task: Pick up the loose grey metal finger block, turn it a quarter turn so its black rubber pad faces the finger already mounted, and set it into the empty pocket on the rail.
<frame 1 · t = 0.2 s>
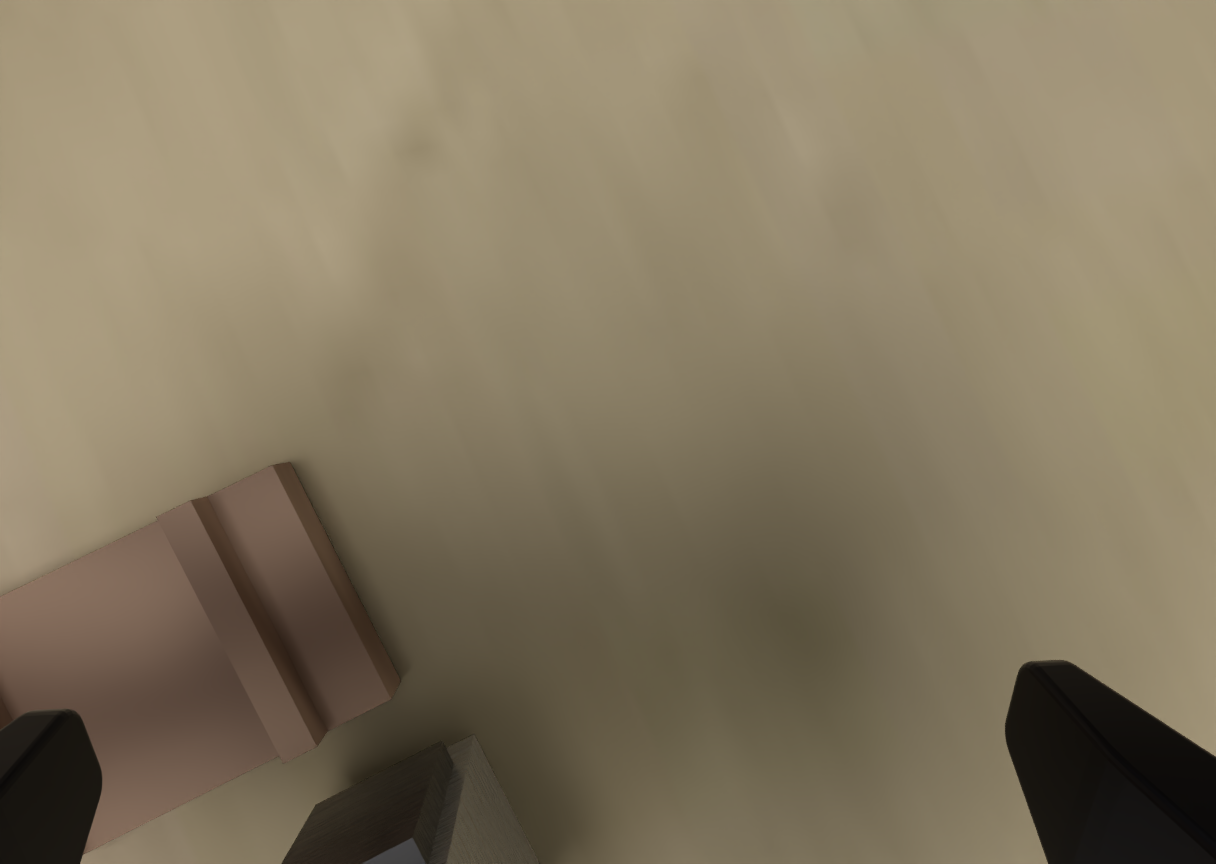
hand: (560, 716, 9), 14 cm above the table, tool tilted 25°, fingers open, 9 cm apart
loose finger: (437, 842, 23), on the table
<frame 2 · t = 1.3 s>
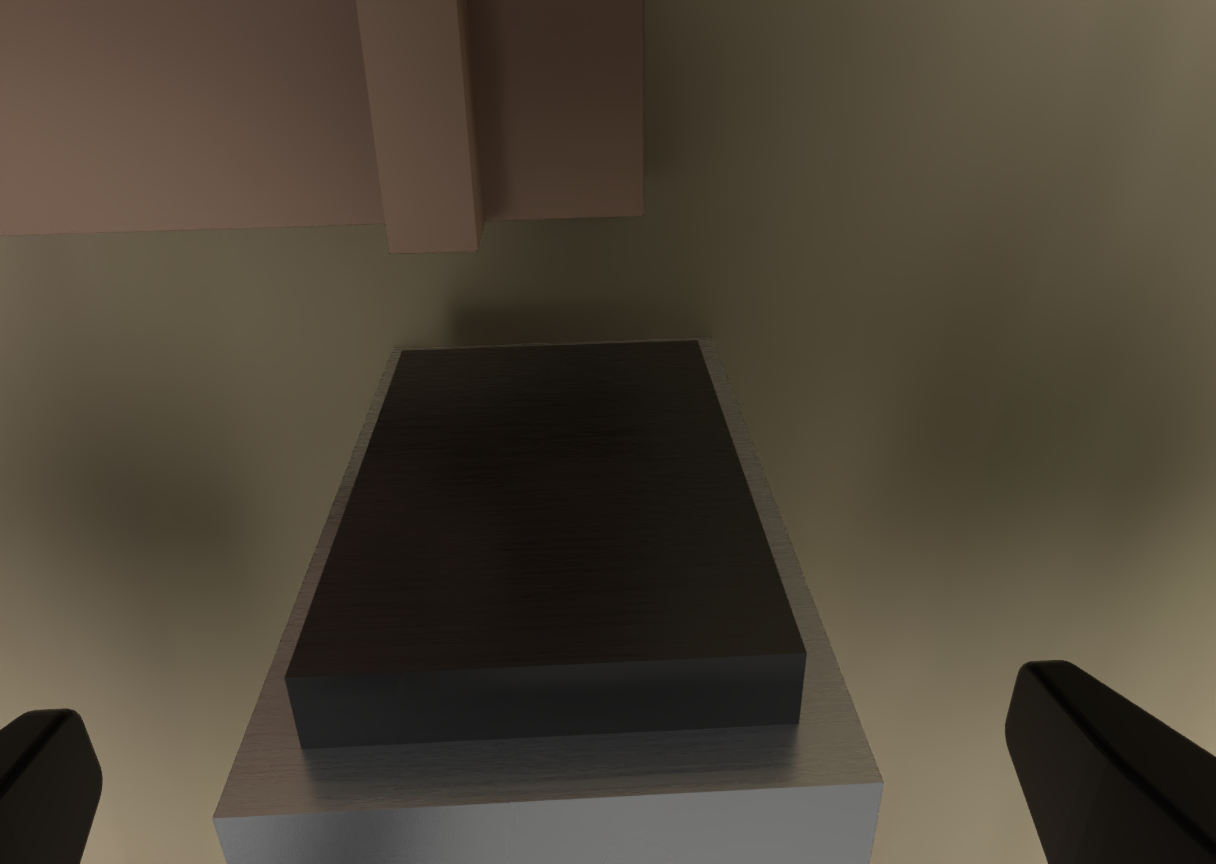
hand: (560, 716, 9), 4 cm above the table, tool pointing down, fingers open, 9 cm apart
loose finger: (559, 478, 13), on the table
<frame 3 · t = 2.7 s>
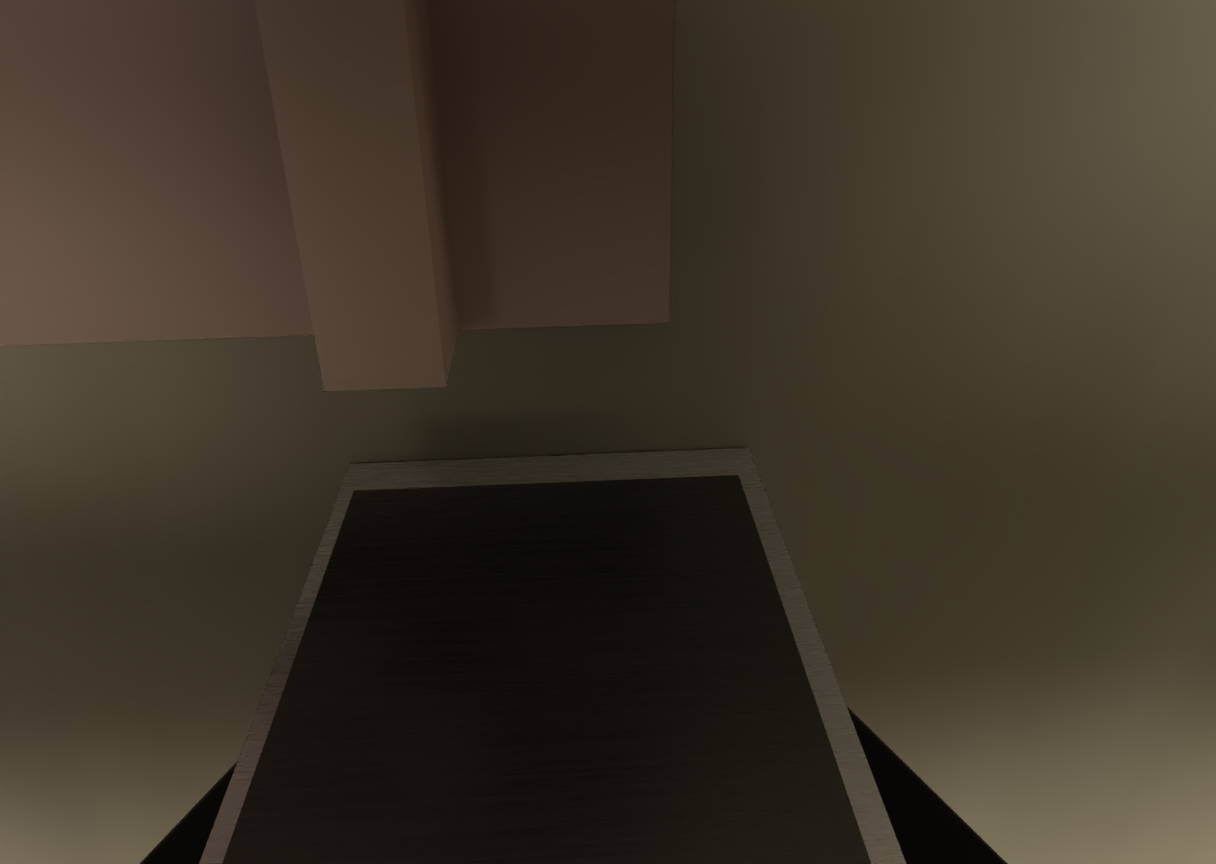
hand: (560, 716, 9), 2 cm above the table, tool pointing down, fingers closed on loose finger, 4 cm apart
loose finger: (559, 612, 10), on the table, touching gripper
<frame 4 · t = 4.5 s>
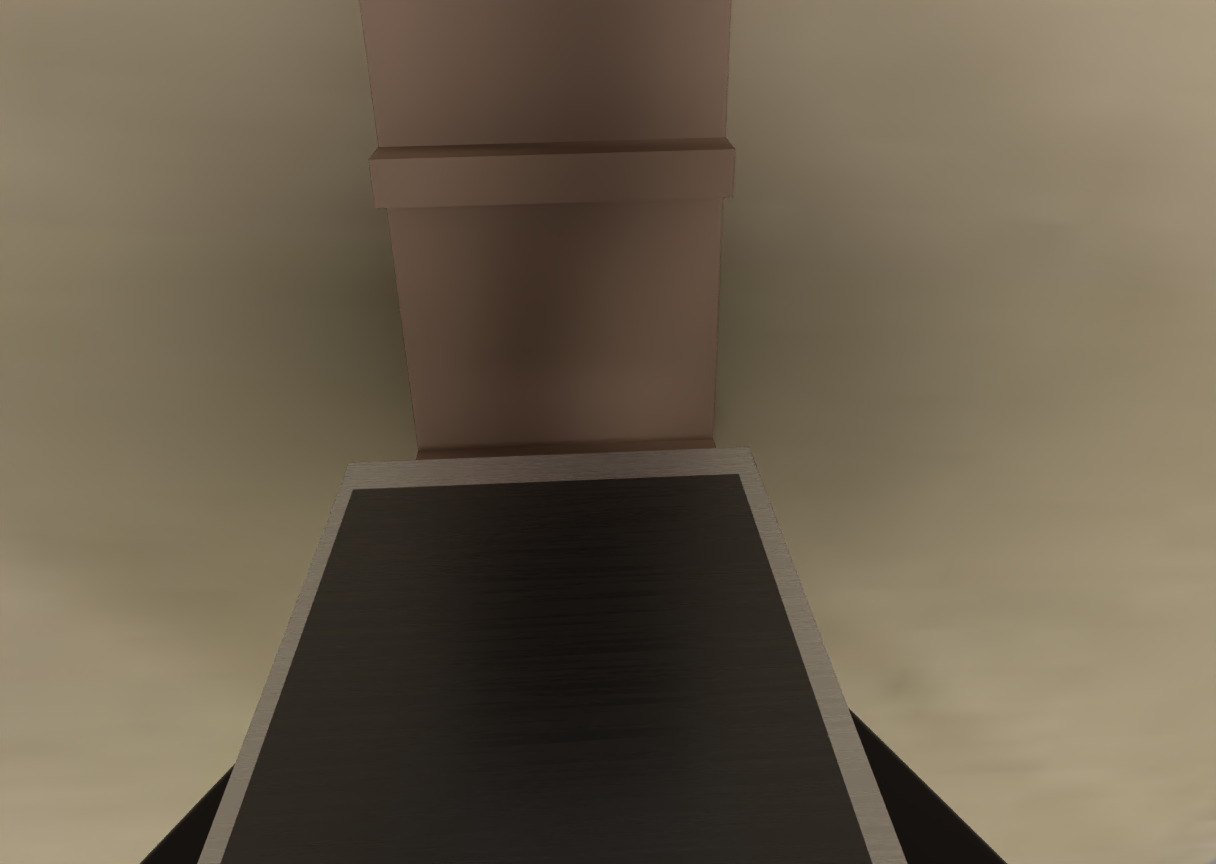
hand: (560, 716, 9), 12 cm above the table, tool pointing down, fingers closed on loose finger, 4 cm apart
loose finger: (558, 612, 10), point 10 cm above the table, touching gripper
rail: (547, 2, 16), on the table
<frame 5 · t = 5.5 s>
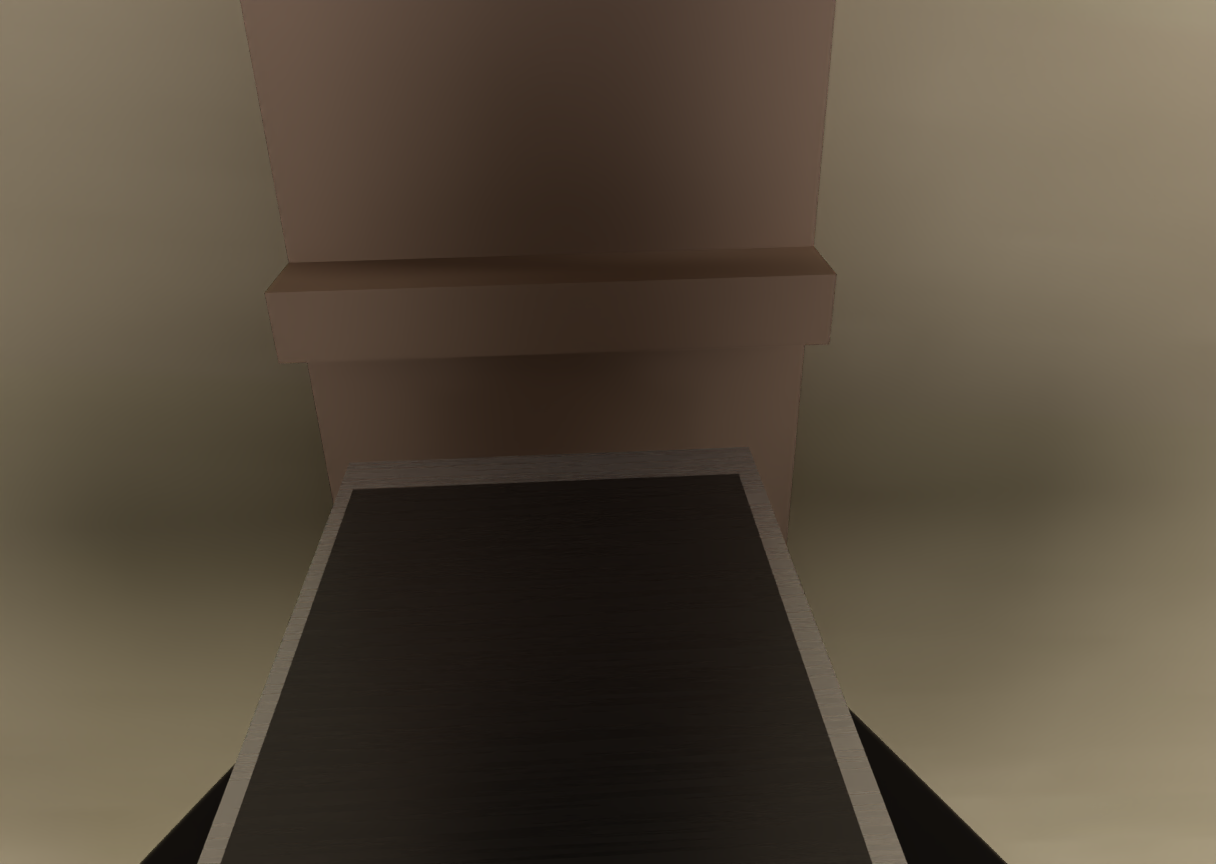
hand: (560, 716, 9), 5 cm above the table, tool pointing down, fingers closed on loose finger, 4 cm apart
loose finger: (558, 612, 10), point 4 cm above the table, touching gripper
rail: (546, 42, 11), on the table
when the fingers open (5 cm above the table, at t = 6.3 s): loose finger drops 2 cm, resting on rail.
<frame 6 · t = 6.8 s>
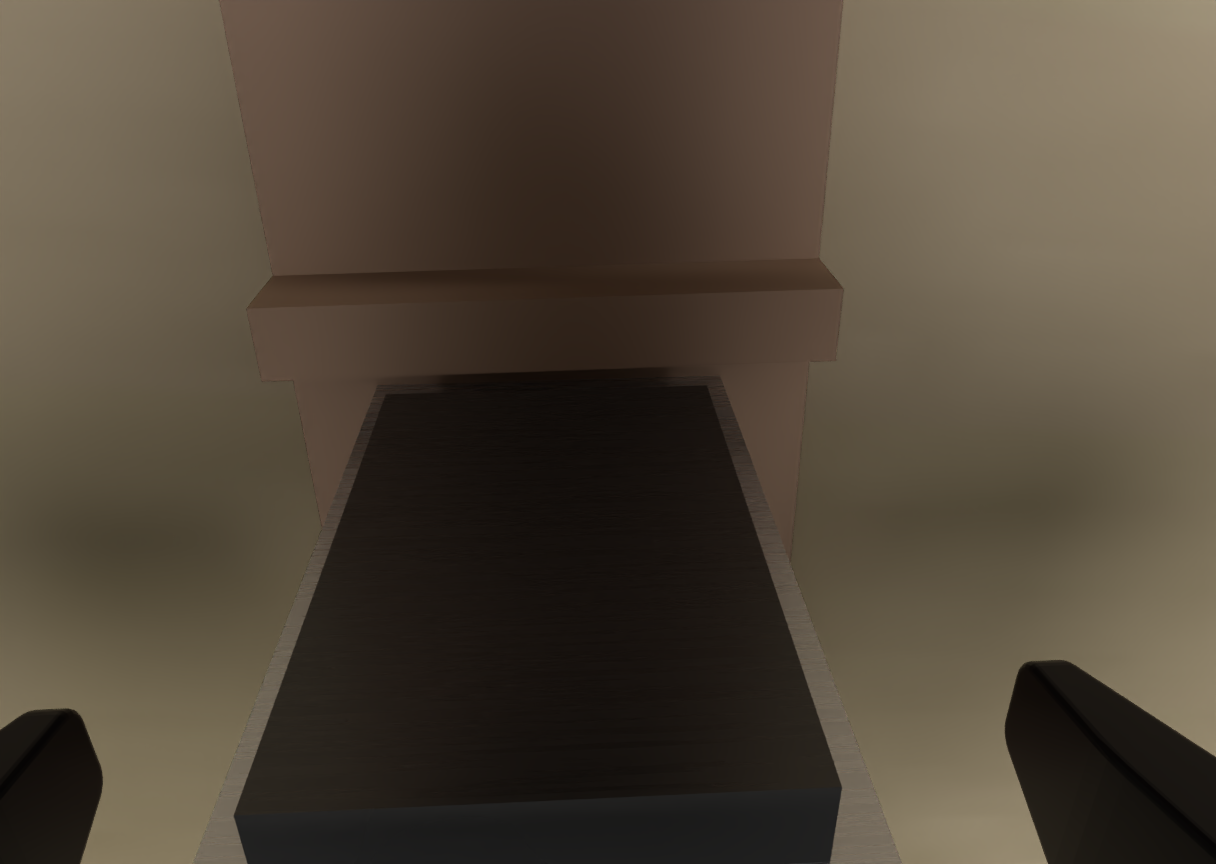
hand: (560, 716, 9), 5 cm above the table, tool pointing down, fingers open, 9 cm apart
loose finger: (555, 523, 12), point 1 cm above the table, touching rail
rail: (540, 46, 11), on the table
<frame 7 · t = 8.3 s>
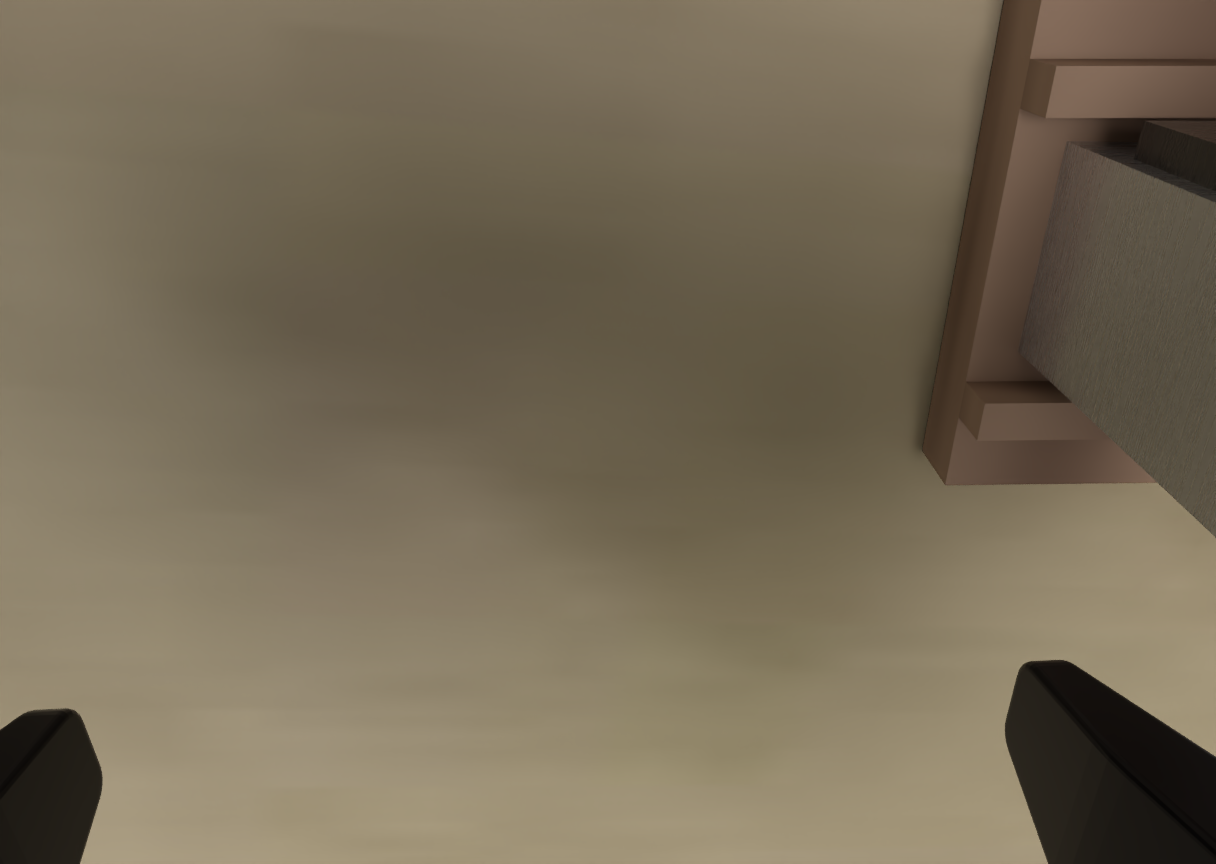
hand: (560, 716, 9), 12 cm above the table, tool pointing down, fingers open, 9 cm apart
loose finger: (1146, 252, 17), point 1 cm above the table, touching rail
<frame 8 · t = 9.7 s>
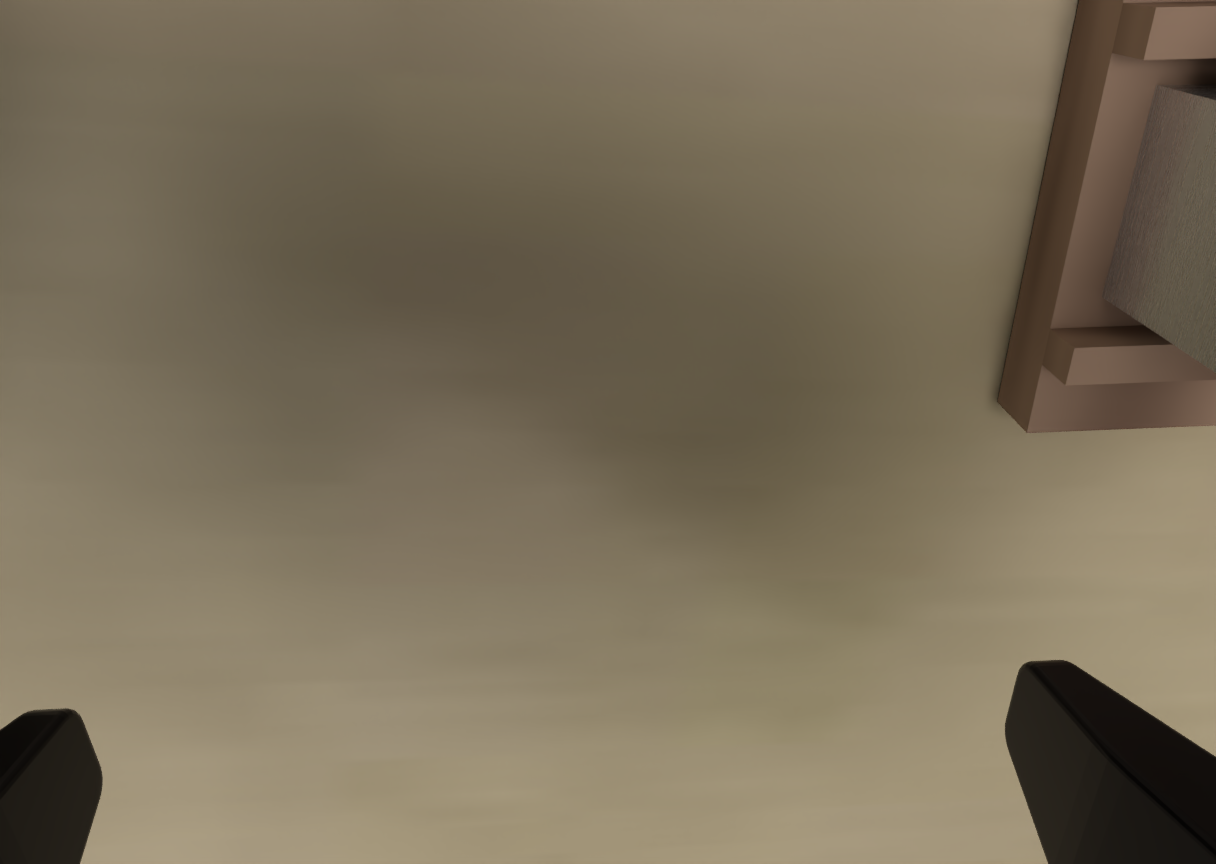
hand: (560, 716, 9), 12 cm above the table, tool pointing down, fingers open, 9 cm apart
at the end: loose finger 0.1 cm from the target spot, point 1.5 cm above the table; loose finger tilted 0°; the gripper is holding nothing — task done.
